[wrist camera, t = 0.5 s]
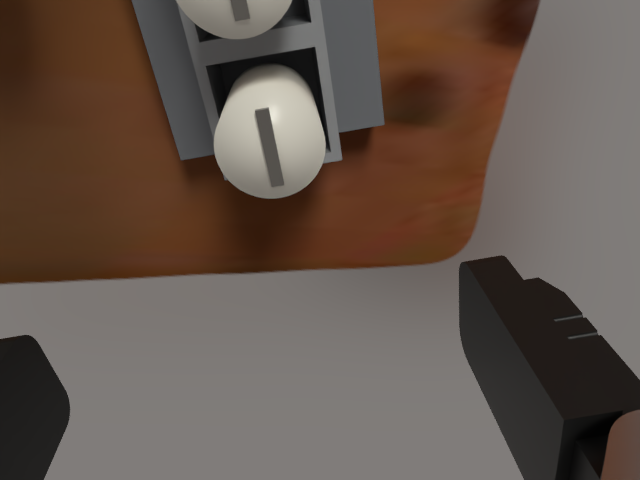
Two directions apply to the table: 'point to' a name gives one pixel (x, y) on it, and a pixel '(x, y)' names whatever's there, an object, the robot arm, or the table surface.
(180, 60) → the grey compartment box
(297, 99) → the knob
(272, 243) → the table surface
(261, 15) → the knob mid
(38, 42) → the table surface
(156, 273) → the table surface
